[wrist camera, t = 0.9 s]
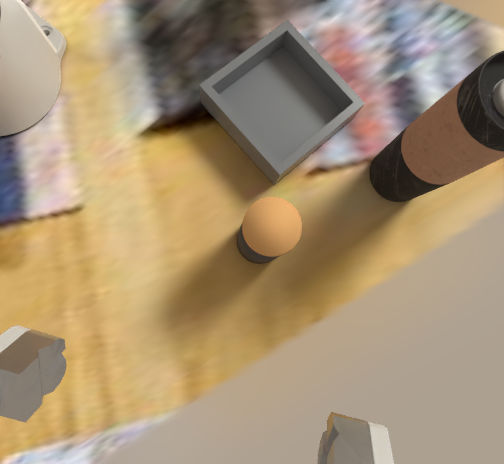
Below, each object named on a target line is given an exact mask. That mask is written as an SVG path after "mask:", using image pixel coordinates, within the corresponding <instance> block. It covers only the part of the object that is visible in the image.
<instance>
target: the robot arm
mask: <svg viewBox="0 0 504 464" xmlns="http://www.w3.org/2000/svg"><path fill="white" fill-rule="evenodd" d="M47 34H50V35H48V36H46V35H47ZM66 45H67V41H66V38H65V37H64V36H63V35H62V33H61V32H60V31H59V30H57V29H56V28H55V27H53V26H52V25H51V24H49V23H48V22H47V21H46V20H44V19H43V18H42V17H40V16H39V15H38V14H36V13H35V12H34V11H33V10H31V9H30V8H29V7H27V6H26V5H25V4H23V2H22V1H21V0H0V136H5V135H10V134H14V133H17V132H20V131H23V130H25V129H27V128H29V127H31V126H32V125H34V124H35V123H37V122H38V121H39V120H40V119H42V118H43V117H44V116H45V115H46V114H47V113H48V111H49V110H50V109H51V107H52V106H53V104H54V103H55V101H56V99H57V96H58V93H59V90H60V85H61V69H60V63H61V59H62V57H63V54H64V52H65V49H66ZM64 350H65V340H64V339H62V338H59V337H56V336H52V335H49V334H46V333H43V332H39V331H36V330H33V329H29V328H25V327H22V326H19V325H16V326H13V327H11V328H9V329H8V330H7V331H5V332H4V333H3V334H1V335H0V416H3V417H7V418H11V419H15V420H18V421H22V422H26V421H27V420H28V419H29V418H30V417H31V416H32V415H33V414H34V412H35V411H36V410H37V409H38V408H39V407H40V406H41V404H42V401H43V396H44V395H46V394H48V393H51V392H53V391H54V390H55V388H56V387H57V386H58V385H59V384H60V382H61V380H62V378H63V376H64V374H65V370H66V359H65V358H64V356H63V355H62V352H63V351H64ZM318 464H394V461H393V456H392V450H391V445H390V439H389V434H388V430H387V428H386V426H382V425H378V424H375V423H371V422H366V421H363V420H360V419H356V418H352V417H348V416H345V415H341V414H337V413H333V412H331V414H330V415H329V418H328V420H327V431H325V432H323V435H322V438H321V441H320V447H319V451H318Z"/></svg>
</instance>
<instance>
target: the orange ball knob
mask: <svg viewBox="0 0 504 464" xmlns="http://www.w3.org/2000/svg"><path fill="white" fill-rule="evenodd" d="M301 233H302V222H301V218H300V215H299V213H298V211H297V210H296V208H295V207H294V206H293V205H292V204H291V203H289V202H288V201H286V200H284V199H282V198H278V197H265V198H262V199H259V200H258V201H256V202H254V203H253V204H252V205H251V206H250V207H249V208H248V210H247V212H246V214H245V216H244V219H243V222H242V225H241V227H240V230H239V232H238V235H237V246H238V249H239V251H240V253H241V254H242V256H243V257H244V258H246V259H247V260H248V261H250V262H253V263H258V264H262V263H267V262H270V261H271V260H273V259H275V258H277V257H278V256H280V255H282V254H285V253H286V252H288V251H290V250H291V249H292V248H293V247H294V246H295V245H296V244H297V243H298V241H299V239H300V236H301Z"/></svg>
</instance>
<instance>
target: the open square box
mask: <svg viewBox="0 0 504 464" xmlns="http://www.w3.org/2000/svg"><path fill="white" fill-rule="evenodd" d="M199 88H200V102H201V104H202V105H203V106H204V107H205V108H206V109H207V110H208V112H209V113H210V114H211V115H212V116H213V117H214V118H215V119H216V121H217V122H218V123H219V124H220V125H221V126H222V127H223V128H224V129H225V131H226V132H227V133H228V134H229V135H230V136H231V137H232V138H233V140H234V141H235V142H236V143H237V144H238V145H239V146H240V147H241V148H242V150H243V151H244V152H245V153H246V154H247V155H248V156H249V157H250V159H251V160H252V161H253V162H254V163H255V164H256V165H257V166H258V168H259V169H260V170H261V171H262V172H263V173H264V174H265V175H266V176H267V178H268V179H269V180H270V181H271V182H272V183H273V184H274V185H275V184H276V183H277V182H279V181H280V180H281V179H282V178H283V177H285V176H286V175H287V174H288V173H289V172H290V171H292V170H293V169H294V168H295V167H296V166H298V165H299V164H300V163H301V162H302V161H304V160H305V159H306V158H307V157H308V156H309V155H311V154H312V153H313V152H314V151H315V150H317V149H318V148H319V147H320V146H321V145H322V144H324V143H325V142H326V141H327V140H328V139H330V138H331V137H332V136H333V135H334V134H336V133H337V132H338V131H339V130H340V129H341V128H343V127H344V126H345V125H346V124H347V123H349V122H350V121H351V120H352V119H353V118H354V117H355V116H356V114H357V113H358V112H359V111H360V109H361V108H362V107H363V106H364V104H365V103H364V102H363V101H362V100H361V98H360V97H359V96H358V95H357V94H356V93H355V92H354V91H353V90H352V89H351V88H350V87H349V86H348V84H347V83H346V82H345V81H344V80H343V79H342V78H341V77H340V76H339V75H338V74H337V73H336V72H335V70H334V69H333V68H332V67H331V66H330V65H329V64H328V63H327V62H326V61H325V60H324V59H323V58H322V56H321V55H320V54H319V53H318V52H317V51H316V50H315V49H314V48H313V47H312V46H311V45H310V44H309V42H308V41H307V40H306V39H305V38H304V37H303V36H302V35H301V34H300V33H299V32H298V31H297V30H296V28H295V27H294V26H293V25H292V24H291V23H290V22H289V21H288V20H287V21H285V22H284V23H283V24H281V25H280V26H279V27H277V28H276V29H275V30H273V31H272V32H270V33H269V34H268V35H266V36H265V37H264V38H262V39H261V40H260V41H258V42H257V43H256V44H254V45H253V46H252V47H250V48H249V49H247V50H246V51H245V52H243V53H242V54H241V55H239V56H238V57H237V58H235V59H234V60H233V61H231V62H230V63H228V64H227V65H226V66H224V67H223V68H222V69H220V70H219V71H218V72H216V73H215V74H214V75H212V76H211V77H210V78H208V79H207V80H205V81H204V82H203V83H201V84H200V85H199Z"/></svg>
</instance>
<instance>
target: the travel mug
mask: <svg viewBox="0 0 504 464" xmlns="http://www.w3.org/2000/svg"><path fill="white" fill-rule="evenodd" d="M503 157H504V51H501V52H499V53H496V54H495V55H493V56H491V57H490V58H488V59H487V60H486V61H485V62H484V63H482V64H481V65H480V66H479V67H478V68H476V69H475V70H474V71H473V72H472V73H470V74H469V75H468V76H467V77H466V78H464V79H463V80H462V81H461V82H460V83H459V84H457V85H456V86H455V87H454V88H453V89H451V90H450V91H449V92H448V93H447V94H445V95H444V96H443V97H442V98H441V99H439V100H438V101H437V102H436V103H435V104H433V105H432V106H431V107H430V108H429V109H428V110H426V111H425V112H424V113H423V114H422V115H420V116H419V117H418V118H417V119H416V120H414V121H413V122H412V123H411V124H410V125H409V126H408V127H406V128H405V129H404V130H403V131H402V132H401V133H400V134H399V135H398V136H397V137H396V138H395V139H394V140H393V141H392V142H391V143H390V144H388V145H387V146H386V147H385V148H384V149H383V150H382V151H381V152H380V153H379V154H378V155H377V156H376V157H375V159H374V160H373V162H372V165H371V168H370V178H371V182H372V185H373V187H374V188H375V190H376V191H377V192H378V193H379V194H380V195H381V196H382V197H384V198H386V199H388V200H390V201H395V202H403V201H407V200H410V199H413V198H415V197H418V196H420V195H423V194H425V193H427V192H430V191H432V190H435V189H437V188H439V187H442V186H444V185H447V184H449V183H451V182H454V181H456V180H458V179H460V178H462V177H464V176H466V175H468V174H470V173H472V172H474V171H476V170H478V169H481V168H483V167H485V166H487V165H489V164H491V163H493V162H495V161H497V160H499V159H501V158H503Z"/></svg>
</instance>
